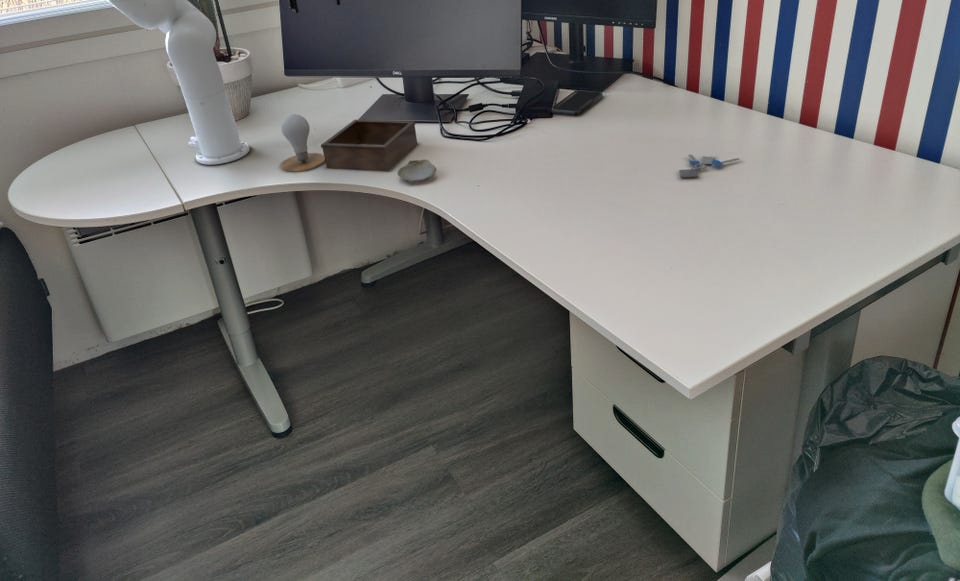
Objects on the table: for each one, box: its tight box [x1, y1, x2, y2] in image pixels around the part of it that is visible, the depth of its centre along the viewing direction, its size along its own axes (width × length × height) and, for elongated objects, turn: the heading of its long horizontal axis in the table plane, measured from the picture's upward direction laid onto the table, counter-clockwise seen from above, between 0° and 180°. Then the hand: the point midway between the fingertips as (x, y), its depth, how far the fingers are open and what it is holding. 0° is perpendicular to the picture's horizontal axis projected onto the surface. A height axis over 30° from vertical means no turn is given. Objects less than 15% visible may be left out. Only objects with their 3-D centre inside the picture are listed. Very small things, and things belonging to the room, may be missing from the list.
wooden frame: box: [320, 119, 418, 172], centre depth 168 cm, size 16×16×6 cm
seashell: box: [397, 159, 437, 183], centre depth 156 cm, size 8×3×8 cm
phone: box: [551, 89, 603, 117], centre depth 185 cm, size 8×1×15 cm
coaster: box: [280, 152, 326, 173], centre depth 170 cm, size 10×10×1 cm
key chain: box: [678, 154, 740, 178], centre depth 147 cm, size 14×8×1 cm, turn 121°
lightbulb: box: [281, 114, 311, 162], centre depth 167 cm, size 6×6×11 cm
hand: (316, 8), depth 167 cm, fingers open, 9 cm apart
